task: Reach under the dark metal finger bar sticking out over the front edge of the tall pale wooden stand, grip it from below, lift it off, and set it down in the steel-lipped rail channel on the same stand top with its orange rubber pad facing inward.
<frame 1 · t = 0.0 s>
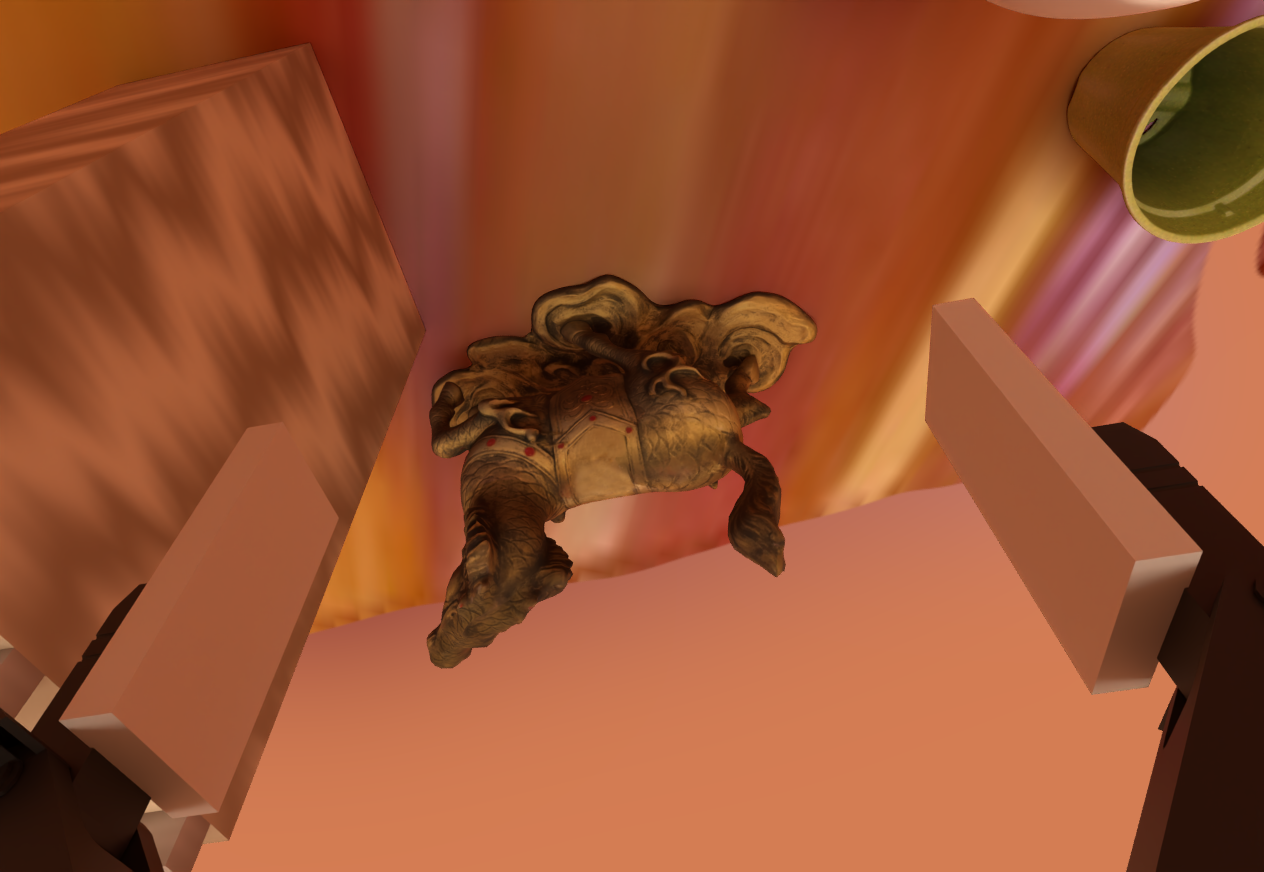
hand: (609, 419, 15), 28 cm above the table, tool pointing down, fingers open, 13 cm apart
stand: (288, 221, 41), on the table
plant pot: (1123, 91, 38), on the table
figurine: (618, 365, 47), on the table
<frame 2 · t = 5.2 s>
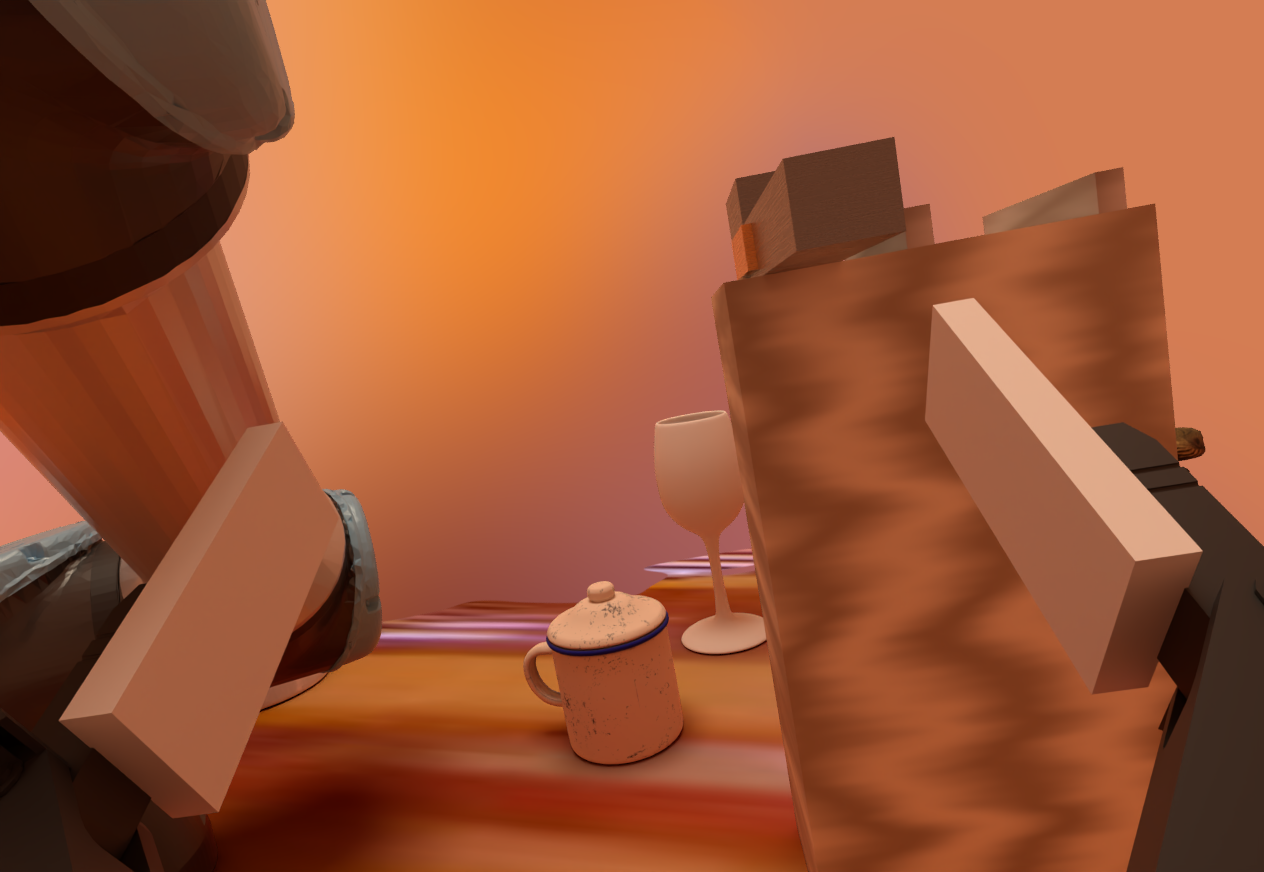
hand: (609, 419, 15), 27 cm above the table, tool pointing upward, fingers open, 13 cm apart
wineglass: (727, 636, 70), on the table
teacup with lid: (610, 735, 56), on the table
stand: (976, 871, 36), on the table
finger: (797, 270, 29), point 30 cm above the table, touching stand
figurine: (1072, 685, 51), on the table
utensil holder: (262, 689, 78), on the table
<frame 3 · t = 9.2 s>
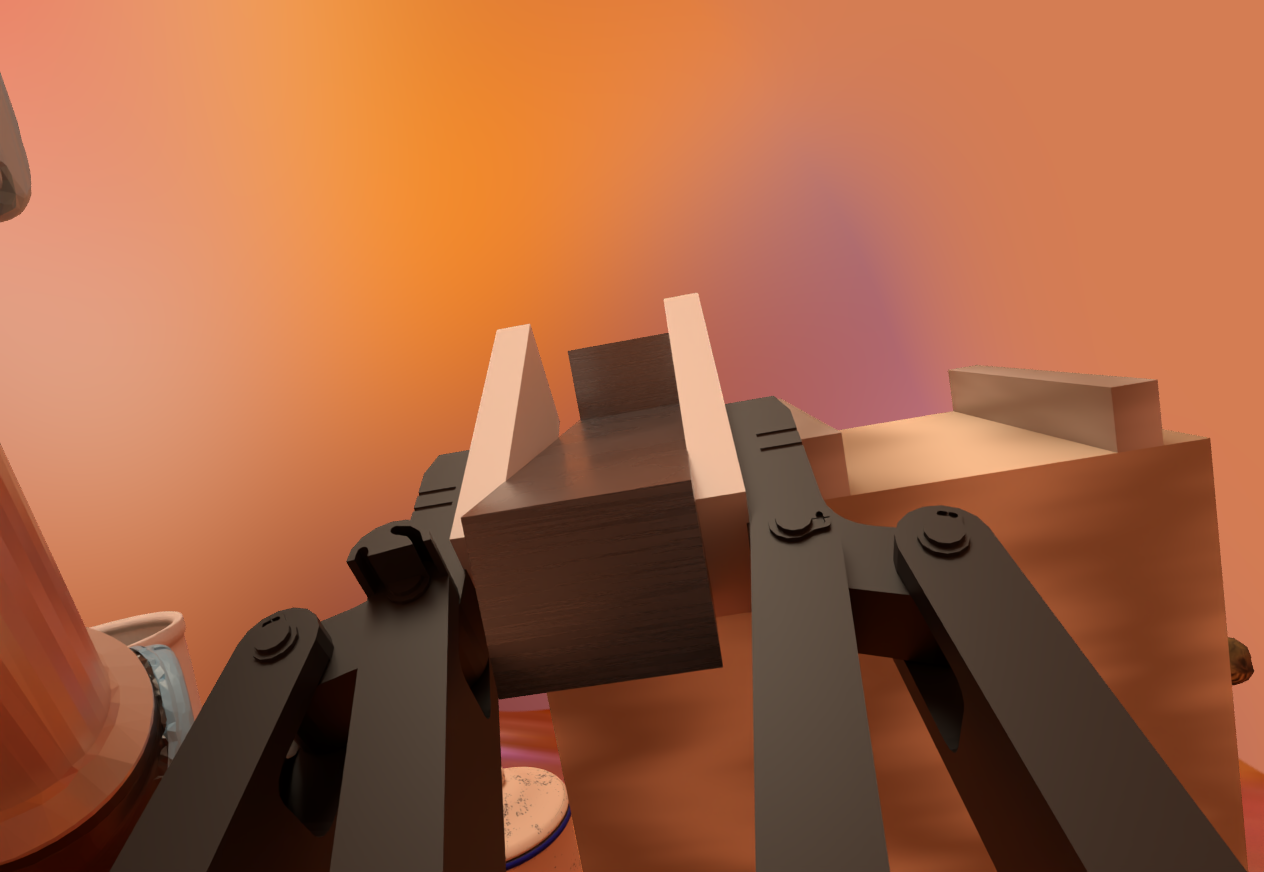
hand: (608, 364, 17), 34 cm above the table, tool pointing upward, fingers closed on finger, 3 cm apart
finger: (641, 519, 19), point 30 cm above the table, touching gripper, stand
utensil holder: (136, 826, 67), on the table
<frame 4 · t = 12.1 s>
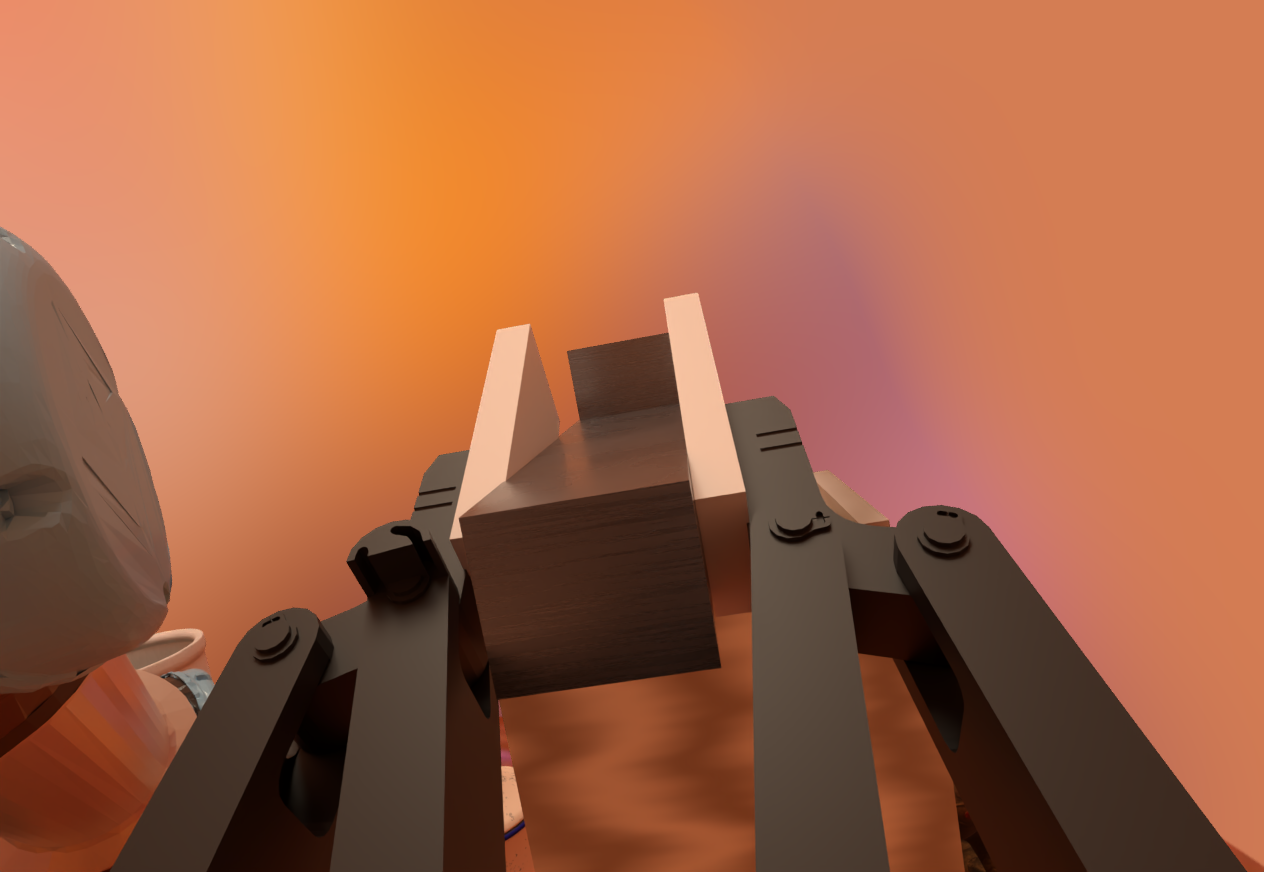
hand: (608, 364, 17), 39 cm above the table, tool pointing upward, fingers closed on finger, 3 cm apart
finger: (640, 519, 19), point 35 cm above the table, touching gripper
utensil holder: (163, 819, 76), on the table
when the fingers open (35 cm above the table, at t = 15.0 s): finger stays where it is, resting on stand.
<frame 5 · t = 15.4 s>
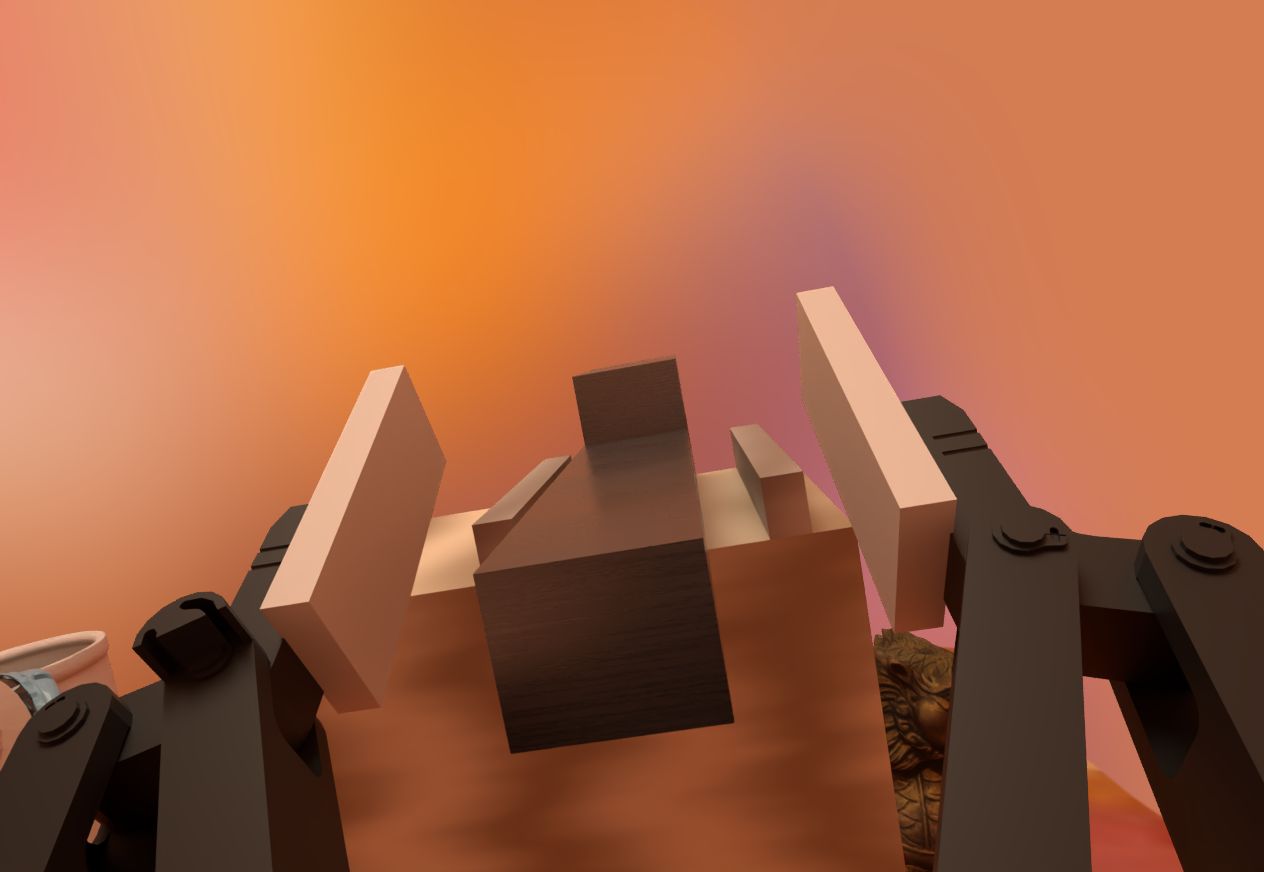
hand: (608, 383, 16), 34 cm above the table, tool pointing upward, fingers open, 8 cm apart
finger: (647, 548, 19), point 30 cm above the table, touching stand
utensil holder: (58, 844, 68), on the table
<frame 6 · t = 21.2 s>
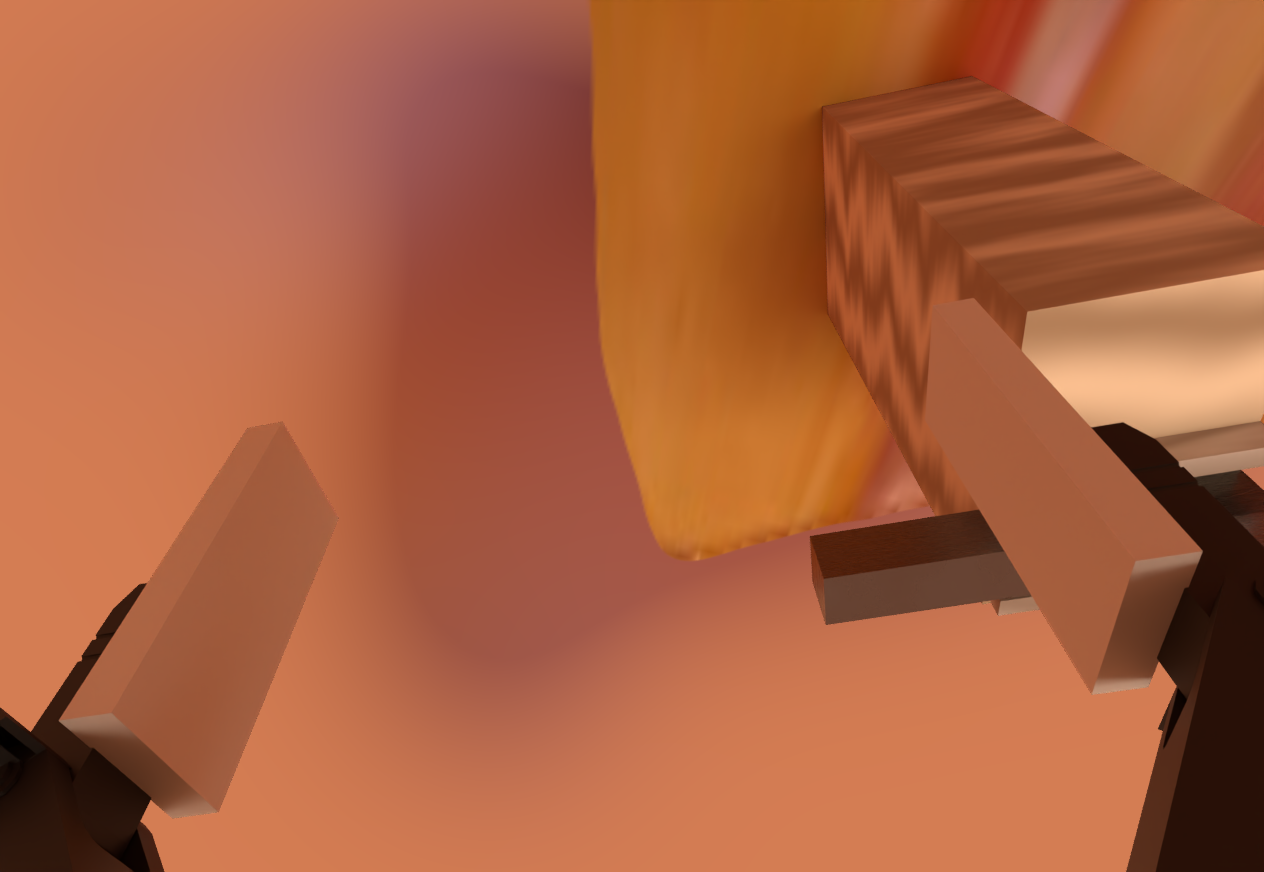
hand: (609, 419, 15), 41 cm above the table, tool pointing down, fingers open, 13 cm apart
stand: (893, 206, 54), on the table
finger: (1015, 527, 33), point 30 cm above the table, touching stand
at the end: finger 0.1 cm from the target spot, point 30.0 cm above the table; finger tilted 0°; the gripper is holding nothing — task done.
